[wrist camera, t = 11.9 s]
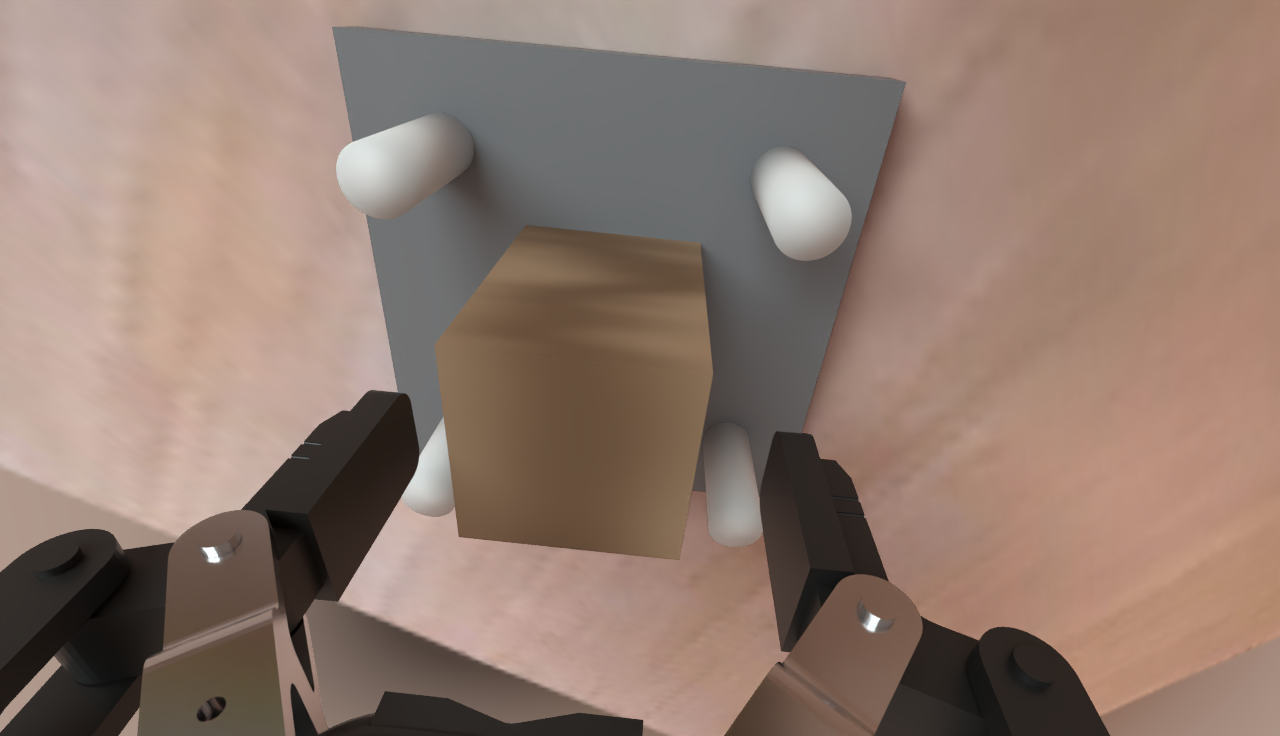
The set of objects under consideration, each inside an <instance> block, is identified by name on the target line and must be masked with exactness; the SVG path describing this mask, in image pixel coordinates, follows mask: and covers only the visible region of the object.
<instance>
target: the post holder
mask: <svg viewBox="0 0 1280 736" xmlns="http://www.w3.org/2000/svg"><path fill="white" fill-rule="evenodd" d="M332 28H333V34H334V39H335V45H336V50H337V56H338V61H339V67H340V73H341V78H342V84H343V89H344V95H345V100H346V106H347V111H348V117H349V122H350V128H351V134H352V139H353V142H352V143H350V144H348V145H347V146H346V147H345V148H344V149H343V150H342V151H341V153H340V155H339V157H338V160H337V165H336V174H337V179H338V183H339V185H340V188H341V190H342V192H343V193H344V195H345V197H346V198H347V199H348V200H349V202H350V203H351V204H352V205H353V206H354V207H356V208H357V209H358V210H359V211H361V212H362V213H364V214H366V217H367V222H368V228H369V233H370V239H371V245H372V250H373V256H374V261H375V267H376V272H377V278H378V283H379V289H380V294H381V300H382V306H383V311H384V317H385V322H386V328H387V333H388V339H389V344H390V350H391V355H392V361H393V367H394V372H395V378H396V383H397V389H398V393H405V394H407V395H408V396H409V398H410V400H411V405H412V410H413V416H414V421H415V427H416V432H417V437H418V443H419V451H420V453H419V462H418V466H417V470H416V472H415V475H414V476H413V478H412V480H411V481H410V483H409V485H408V486H407V488H406V490H405V491H404V493H403V495H402V496H401V497H402V499H403V501H404V502H405V504H406V505H407V506H408V507H409V508H411V509H412V510H414V511H415V512H417V513H420V514H422V515H426V516H432V517H438V516H443V515H446V514H448V513H450V512H451V511H452V510H453V508H454V506H455V503H454V495H453V487H452V479H451V471H450V463H449V456H448V448H447V440H446V432H445V424H444V416H443V409H442V401H441V393H440V385H439V377H438V369H437V362H436V354H435V346H434V345H435V344H436V342H437V341H438V340H439V338H440V337H441V336H442V334H443V333H444V332H445V330H446V329H447V328H448V326H449V325H450V324H451V323H452V321H453V320H454V319H455V317H456V316H457V315H458V313H459V312H460V311H461V309H462V308H463V307H464V305H465V304H466V303H467V302H468V300H469V299H470V298H471V296H472V295H473V294H474V292H475V291H476V290H477V288H478V287H479V286H480V284H481V283H482V282H483V281H484V279H485V278H486V277H487V275H488V274H489V273H490V271H491V270H492V269H493V267H494V266H495V265H496V263H497V262H498V261H499V260H500V258H501V257H502V256H503V254H504V253H505V252H506V250H507V249H508V248H509V246H510V245H511V244H512V242H513V241H514V240H515V239H516V237H517V236H518V235H519V233H520V232H521V231H522V229H523V228H524V227H525V225H531V226H541V227H550V228H560V229H570V230H580V231H590V232H600V233H610V234H619V235H629V236H639V237H649V238H659V239H669V240H678V241H688V242H698V243H700V245H701V255H702V265H703V276H704V286H705V296H706V306H707V316H708V326H709V336H710V346H711V356H712V366H713V378H712V383H711V389H710V394H709V400H708V405H707V411H706V416H705V422H704V427H703V433H702V438H701V444H700V449H699V454H698V460H697V465H696V471H695V476H694V482H693V487H692V490H693V491H703V492H706V502H707V519H708V532H709V535H710V536H711V538H712V539H713V540H714V541H715V542H717V543H719V544H721V545H723V546H727V547H744V546H747V545H750V544H752V543H754V542H755V541H757V540H758V539H759V538H760V537H761V535H762V533H763V528H762V521H761V514H760V501H759V497H760V489H761V483H762V479H763V475H764V471H765V467H766V463H767V459H768V455H769V451H770V447H771V443H772V439H773V436H774V434H775V432H776V431H783V432H793V433H802V429H803V426H804V422H805V419H806V416H807V412H808V409H809V406H810V402H811V399H812V396H813V392H814V389H815V386H816V382H817V379H818V376H819V372H820V369H821V365H822V362H823V359H824V355H825V352H826V349H827V345H828V342H829V339H830V335H831V332H832V329H833V325H834V322H835V318H836V315H837V312H838V308H839V305H840V302H841V298H842V295H843V292H844V288H845V285H846V282H847V278H848V275H849V271H850V268H851V265H852V261H853V258H854V255H855V251H856V248H857V245H858V241H859V238H860V235H861V231H862V228H863V225H864V221H865V218H866V214H867V211H868V208H869V204H870V201H871V198H872V194H873V191H874V188H875V184H876V181H877V178H878V174H879V171H880V167H881V164H882V161H883V157H884V154H885V151H886V147H887V144H888V141H889V137H890V134H891V131H892V127H893V124H894V121H895V117H896V114H897V110H898V107H899V104H900V100H901V97H902V94H903V90H904V87H905V84H906V82H904V81H900V80H896V79H892V78H885V77H875V76H865V75H854V74H844V73H833V72H823V71H813V70H802V69H792V68H781V67H771V66H760V65H750V64H740V63H729V62H719V61H708V60H698V59H688V58H677V57H667V56H656V55H646V54H635V53H625V52H615V51H604V50H594V49H583V48H573V47H563V46H552V45H542V44H531V43H521V42H511V41H500V40H490V39H479V38H469V37H458V36H448V35H438V34H427V33H417V32H406V31H396V30H386V29H375V28H365V27H332Z"/></svg>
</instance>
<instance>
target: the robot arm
mask: <svg viewBox="0 0 1280 736" xmlns="http://www.w3.org/2000/svg"><path fill="white" fill-rule="evenodd" d="M419 453H420V451H419V443H418V437H417V432H416V427H415V421H414V416H413V410H412V405H411V400H410V398H409V396H408V395H407V394H405V393H396V392H386V391H376V390H370V391H368V392H367V393H366V394H365V395H364V396H363V397H362V398H361V399H360V400H359V402H358V403H357V404H356V405H355V406H354V407H353V409H352V410H351V411H341V412H339V413H338V414H336V415H334V416H333V417H331V418H329V419H328V420H326V421H324V422H323V423H321V424H319V426H318V427H317V428H316V429H315V430H314V431H313V432H312V433H311V434H310V435H309V436H308V438H307V439H306V440H305V441H304V445H303V444H301V445H300V446H299V447H298V448H297V450H296V451H295V452H294V453H293V454H292V457H291V459H289V458H288V459H287V460H286V461H285V463H284V464H283V465H282V466H281V467H280V468H279V469H278V470H277V471H276V472H275V473H274V475H273V476H272V477H271V478H270V479H269V480H268V481H267V482H266V483H265V484H264V485H263V487H262V488H261V489H260V490H259V491H258V492H257V493H256V494H255V495H254V496H253V497H252V499H251V500H250V501H249V502H248V503H247V504H246V505H245V506H244V507H243V508H242V509H241V510H235V511H229V512H224V513H220V514H217V515H214V516H212V517H209V518H207V519H205V520H203V521H201V522H199V523H197V524H195V525H194V526H192V527H191V528H190V529H188V530H187V531H186V532H184V533H183V534H182V535H181V536H180V537H179V538H178V539H177V540H176V542H174V543H167V544H161V545H153V546H147V547H140V548H133V549H126V550H123V549H122V548H121V546H120V544H119V543H118V541H117V540H116V538H115V537H114V535H113V534H111V533H110V532H108V531H105V530H100V529H85V530H78V531H74V532H69V533H66V534H63V535H60V536H57V537H54V538H52V539H49V540H47V541H45V542H43V543H40V544H39V545H37V546H35V547H33V548H31V549H30V550H28V551H27V552H25V553H24V554H22V555H21V556H19V557H18V558H17V559H16V560H14V561H13V562H12V563H11V564H10V565H8V566H7V567H6V568H5V569H4V570H2V571H1V572H0V715H1V713H2V712H3V711H4V709H5V708H6V707H7V706H8V704H9V703H10V702H11V701H12V700H13V699H14V698H15V697H16V695H18V694H19V693H20V691H21V690H22V689H23V688H24V687H25V686H26V685H27V684H28V683H29V682H30V681H31V680H32V679H33V677H34V676H35V675H36V674H37V673H38V672H39V671H40V670H41V669H42V668H43V667H44V666H45V665H46V664H47V663H48V661H49V660H50V659H51V658H52V657H53V656H55V657H56V659H57V660H58V661H59V662H60V663H61V665H62V666H60V668H59V669H58V670H57V671H56V672H55V673H54V674H53V675H52V676H51V678H50V679H49V680H48V681H47V682H46V683H45V684H44V685H43V686H42V687H41V689H40V690H39V691H38V692H37V693H36V694H35V695H34V696H33V697H32V698H31V699H30V701H29V702H28V703H27V704H26V705H25V706H24V707H23V708H22V709H21V710H20V712H19V713H18V714H17V715H16V716H15V717H14V718H13V719H12V720H11V721H10V723H9V724H8V725H7V726H6V727H5V728H4V729H3V730H2V731H1V732H0V736H118V735H119V734H120V733H121V731H122V730H123V729H124V727H125V726H126V725H127V723H128V722H129V720H130V719H131V718H132V717H133V715H134V714H135V712H136V711H137V710H138V708H139V707H140V709H139V722H138V734H137V736H642V732H643V720H639V719H630V718H621V717H612V716H603V715H593V714H585V713H576V714H570V715H564V716H558V717H552V718H546V719H540V720H534V721H527V722H521V723H514V724H510V723H504V722H502V721H499V720H497V719H494V718H492V717H490V716H488V715H485V714H483V713H481V712H478V711H476V710H474V709H471V708H469V707H467V706H464V705H462V704H460V703H458V702H455V701H453V700H451V699H448V698H441V697H431V696H423V695H414V694H404V693H396V692H387V691H385V693H384V695H383V697H382V699H381V702H380V704H379V706H378V708H377V710H376V712H375V713H372V714H368V715H364V716H361V717H357V718H354V719H350V720H348V721H345V722H343V723H341V724H339V725H336V726H333V727H332V728H328V725H327V721H326V718H325V715H324V711H323V707H322V702H321V697H320V691H319V685H318V679H317V673H316V667H315V661H314V655H313V649H312V644H311V638H310V632H309V626H308V621H307V618H306V615H305V613H306V611H307V610H308V608H309V607H310V605H311V603H312V602H313V600H314V599H318V600H328V601H337V602H338V601H339V599H340V597H341V596H342V594H343V592H344V591H345V589H346V587H347V586H348V584H349V583H350V581H351V579H352V578H353V576H354V574H355V573H356V571H357V569H358V568H359V566H360V564H361V563H362V561H363V559H364V558H365V556H366V554H367V553H368V551H369V549H370V548H371V546H372V544H373V543H374V541H375V539H376V538H377V536H378V534H379V533H380V531H381V530H382V528H383V526H384V525H385V523H386V521H387V520H388V518H389V516H390V515H391V513H392V511H393V510H394V508H395V506H396V505H397V503H398V501H399V500H400V498H401V496H402V495H403V493H404V491H405V490H406V488H407V486H408V485H409V483H410V481H411V480H412V478H413V476H414V475H415V472H416V470H417V466H418V462H419ZM760 514H761V521H762V528H763V534H764V541H765V547H766V554H767V561H768V567H769V574H770V580H771V587H772V594H773V600H774V607H775V613H776V620H777V627H778V633H779V640H780V646H781V651H784V652H790V654H789V655H788V657H787V658H786V659H785V661H784V662H783V663H781V662H778V663H776V664H775V665H774V666H773V668H772V669H771V670H770V671H769V673H768V674H767V675H766V677H765V678H764V680H763V681H762V683H761V684H760V685H759V687H758V688H757V690H756V691H755V693H754V694H753V695H752V697H751V698H750V700H749V701H748V703H747V704H746V705H745V707H744V708H743V710H742V711H741V713H740V714H739V715H738V717H737V718H736V720H735V721H734V722H733V724H732V725H731V727H730V728H729V730H728V731H727V732H726V734H725V735H724V736H1110V735H1109V733H1108V731H1107V729H1106V727H1105V726H1104V723H1103V722H1102V720H1101V718H1100V716H1099V714H1098V712H1097V711H1096V709H1095V707H1094V705H1093V703H1092V701H1091V700H1090V698H1089V696H1088V694H1087V692H1086V690H1085V688H1084V687H1083V685H1082V683H1081V681H1080V679H1079V677H1078V676H1077V674H1076V673H1075V671H1074V669H1073V668H1072V667H1071V666H1070V664H1069V663H1068V662H1067V661H1066V660H1065V659H1064V658H1063V657H1062V656H1061V655H1060V654H1059V653H1058V652H1057V651H1056V650H1055V649H1054V648H1052V647H1051V646H1050V645H1048V644H1047V643H1045V642H1044V641H1042V640H1041V639H1039V638H1037V637H1036V636H1034V635H1031V634H1029V633H1027V632H1024V631H1022V630H1019V629H1015V628H1010V627H996V628H993V629H990V630H988V631H987V632H985V633H984V635H983V636H982V637H981V639H980V640H976V639H973V638H971V637H968V636H966V635H963V634H960V633H958V632H955V631H953V630H950V629H947V628H945V627H942V626H940V625H937V624H935V623H933V622H930V621H929V620H927V619H925V618H923V617H921V616H920V614H919V612H918V610H917V608H916V606H915V605H914V603H913V602H912V601H911V599H910V598H909V597H908V596H907V595H906V594H905V593H904V592H903V591H901V590H900V589H899V588H898V587H896V586H895V585H893V584H892V583H890V582H889V580H888V578H887V575H886V573H885V570H884V567H883V564H882V562H881V559H880V556H879V553H878V551H877V548H876V545H875V542H874V540H873V537H872V534H871V531H870V529H869V526H868V523H867V520H866V518H864V512H863V509H862V507H861V504H860V502H858V496H857V493H856V490H855V487H854V485H853V482H852V479H851V478H850V476H849V475H848V474H847V473H846V472H845V471H844V470H843V469H842V467H841V466H840V465H839V464H838V463H837V462H836V461H835V460H825V459H820V457H819V454H818V450H817V447H816V444H815V441H814V438H813V436H812V435H811V434H803V433H793V432H783V431H776V432H775V434H774V436H773V439H772V443H771V447H770V451H769V455H768V459H767V463H766V467H765V471H764V475H763V479H762V483H761V489H760Z"/></svg>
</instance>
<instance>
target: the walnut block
mask: <svg viewBox="0 0 1280 736" xmlns="http://www.w3.org/2000/svg"><path fill="white" fill-rule="evenodd" d="M434 346H435V354H436V362H437V369H438V377H439V385H440V393H441V401H442V409H443V416H444V424H445V432H446V440H447V448H448V456H449V463H450V471H451V479H452V487H453V495H454V503H455V510H456V518H457V526H458V534H459V537H464V538H473V539H483V540H492V541H502V542H511V543H521V544H531V545H540V546H550V547H559V548H569V549H578V550H588V551H597V552H607V553H616V554H626V555H635V556H645V557H654V558H664V559H674V560H679V558H680V553H681V548H682V542H683V537H684V531H685V526H686V520H687V515H688V509H689V504H690V498H691V493H692V487H693V482H694V476H695V471H696V465H697V460H698V454H699V449H700V444H701V438H702V433H703V427H704V422H705V416H706V411H707V405H708V400H709V394H710V389H711V383H712V378H713V366H712V356H711V346H710V336H709V326H708V316H707V306H706V296H705V286H704V276H703V265H702V255H701V245H700V243H698V242H688V241H678V240H669V239H659V238H649V237H639V236H629V235H619V234H610V233H600V232H590V231H580V230H570V229H560V228H550V227H541V226H531V225H525V227H524V228H523V229H522V231H521V232H520V233H519V235H518V236H517V237H516V239H515V240H514V241H513V242H512V244H511V245H510V246H509V248H508V249H507V250H506V252H505V253H504V254H503V256H502V257H501V258H500V260H499V261H498V262H497V263H496V265H495V266H494V267H493V269H492V270H491V271H490V273H489V274H488V275H487V277H486V278H485V279H484V281H483V282H482V283H481V284H480V286H479V287H478V288H477V290H476V291H475V292H474V294H473V295H472V296H471V298H470V299H469V300H468V302H467V303H466V304H465V305H464V307H463V308H462V309H461V311H460V312H459V313H458V315H457V316H456V317H455V319H454V320H453V321H452V323H451V324H450V325H449V326H448V328H447V329H446V330H445V332H444V333H443V334H442V336H441V337H440V338H439V340H438V341H437V342H436V344H435V345H434Z"/></svg>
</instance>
